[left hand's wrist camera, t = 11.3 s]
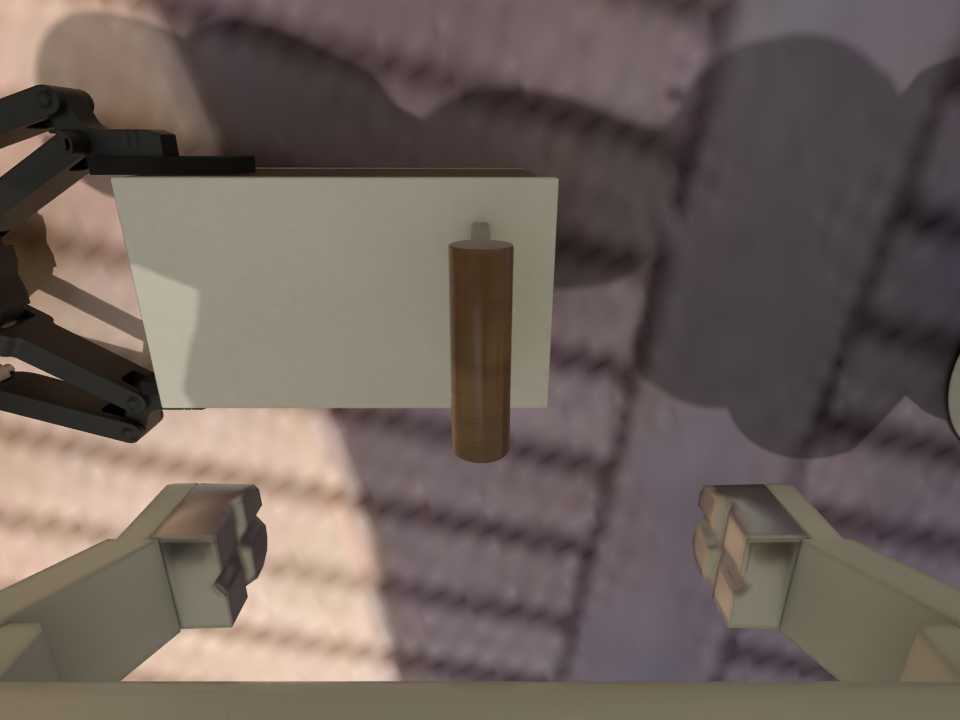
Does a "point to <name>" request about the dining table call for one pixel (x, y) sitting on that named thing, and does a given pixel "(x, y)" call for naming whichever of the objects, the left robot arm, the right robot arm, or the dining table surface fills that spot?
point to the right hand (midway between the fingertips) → (260, 279)
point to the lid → (348, 293)
